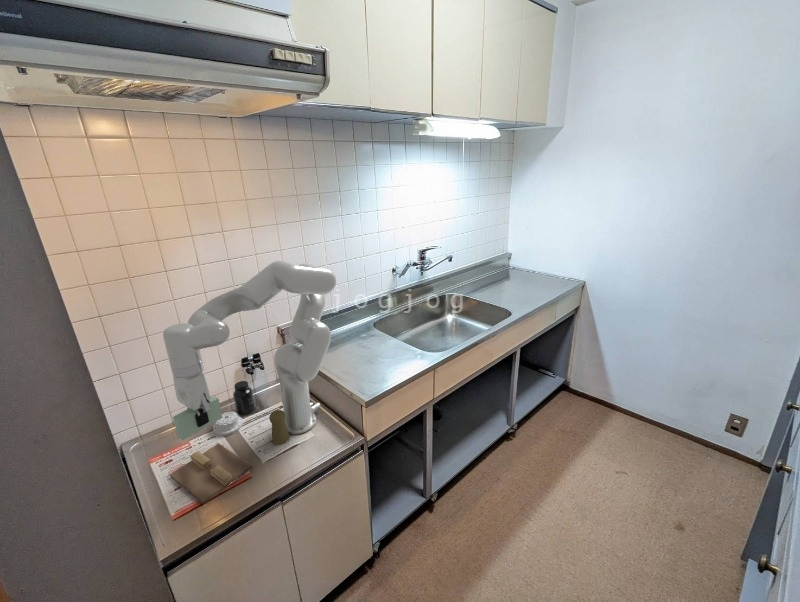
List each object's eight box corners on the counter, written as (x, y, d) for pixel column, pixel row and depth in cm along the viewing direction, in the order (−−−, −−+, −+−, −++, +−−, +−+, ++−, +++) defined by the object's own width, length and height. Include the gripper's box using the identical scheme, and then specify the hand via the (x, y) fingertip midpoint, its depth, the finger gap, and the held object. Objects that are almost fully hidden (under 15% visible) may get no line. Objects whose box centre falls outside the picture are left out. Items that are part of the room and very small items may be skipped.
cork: (270, 435, 130) (266, 409, 127) (288, 431, 133) (285, 405, 129) (272, 447, 125) (268, 420, 121) (290, 442, 127) (287, 415, 123)
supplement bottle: (251, 403, 148) (247, 377, 144) (258, 410, 144) (254, 384, 140) (233, 410, 144) (228, 383, 140) (240, 418, 139) (235, 391, 135)
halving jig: (219, 445, 126) (217, 438, 125) (252, 467, 117) (250, 460, 116) (170, 476, 113) (168, 469, 112) (203, 504, 104) (201, 496, 103)
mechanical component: (207, 434, 132) (232, 438, 130) (204, 424, 130) (230, 428, 128) (225, 416, 141) (248, 420, 139) (223, 407, 139) (246, 410, 137)
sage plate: (217, 414, 114) (213, 395, 112) (222, 417, 113) (218, 398, 111) (177, 437, 105) (172, 416, 102) (182, 440, 104) (177, 420, 101)
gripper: (158, 365, 103) (172, 419, 110) (190, 382, 95) (203, 440, 101) (185, 354, 109) (197, 406, 116) (217, 369, 101) (228, 425, 107)
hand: (200, 422), depth 108 cm, fingers closed on sage plate, 2 cm apart
